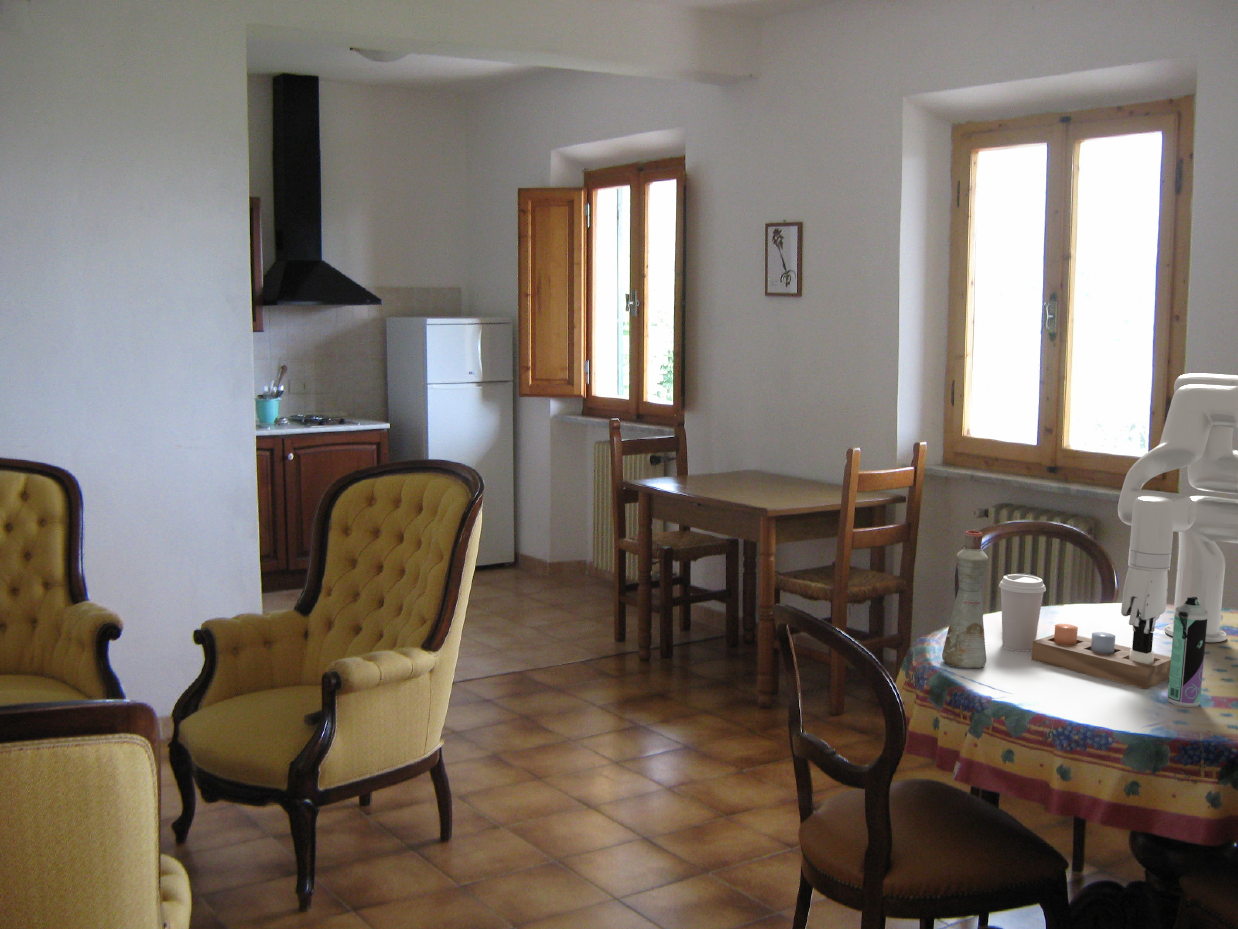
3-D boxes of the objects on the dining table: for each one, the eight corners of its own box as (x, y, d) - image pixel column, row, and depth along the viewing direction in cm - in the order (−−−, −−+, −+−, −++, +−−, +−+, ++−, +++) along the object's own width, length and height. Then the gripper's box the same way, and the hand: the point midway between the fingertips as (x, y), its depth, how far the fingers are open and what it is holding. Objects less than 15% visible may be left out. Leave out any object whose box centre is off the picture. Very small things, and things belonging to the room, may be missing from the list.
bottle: (949, 671, 242) (958, 532, 238) (936, 657, 251) (944, 524, 247) (992, 671, 242) (1001, 533, 238) (977, 658, 251) (986, 525, 247)
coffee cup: (1019, 639, 267) (1023, 572, 265) (1051, 650, 258) (1056, 581, 256) (985, 643, 262) (989, 575, 260) (1017, 655, 254) (1022, 585, 252)
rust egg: (1060, 645, 254) (1061, 622, 254) (1080, 649, 251) (1081, 627, 250) (1049, 648, 251) (1051, 626, 251) (1069, 653, 248) (1071, 630, 247)
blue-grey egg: (1096, 653, 248) (1098, 631, 248) (1117, 658, 245) (1119, 635, 244) (1086, 657, 245) (1087, 634, 245) (1107, 662, 242) (1108, 639, 242)
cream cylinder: (1134, 670, 243) (1136, 646, 242) (1156, 675, 239) (1158, 651, 239) (1124, 674, 240) (1125, 650, 239) (1146, 679, 236) (1148, 655, 236)
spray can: (1197, 709, 222) (1207, 602, 219) (1165, 703, 225) (1174, 597, 222) (1201, 701, 226) (1210, 596, 224) (1169, 695, 229) (1178, 592, 227)
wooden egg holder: (1060, 650, 258) (1061, 632, 258) (1173, 677, 241) (1175, 658, 240) (1031, 660, 250) (1032, 641, 250) (1145, 689, 233) (1147, 669, 232)
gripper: (1147, 552, 244) (1140, 641, 247) (1112, 561, 234) (1105, 653, 237) (1185, 558, 239) (1177, 649, 241) (1151, 568, 229) (1143, 662, 231)
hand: (1141, 651), depth 239 cm, fingers closed
